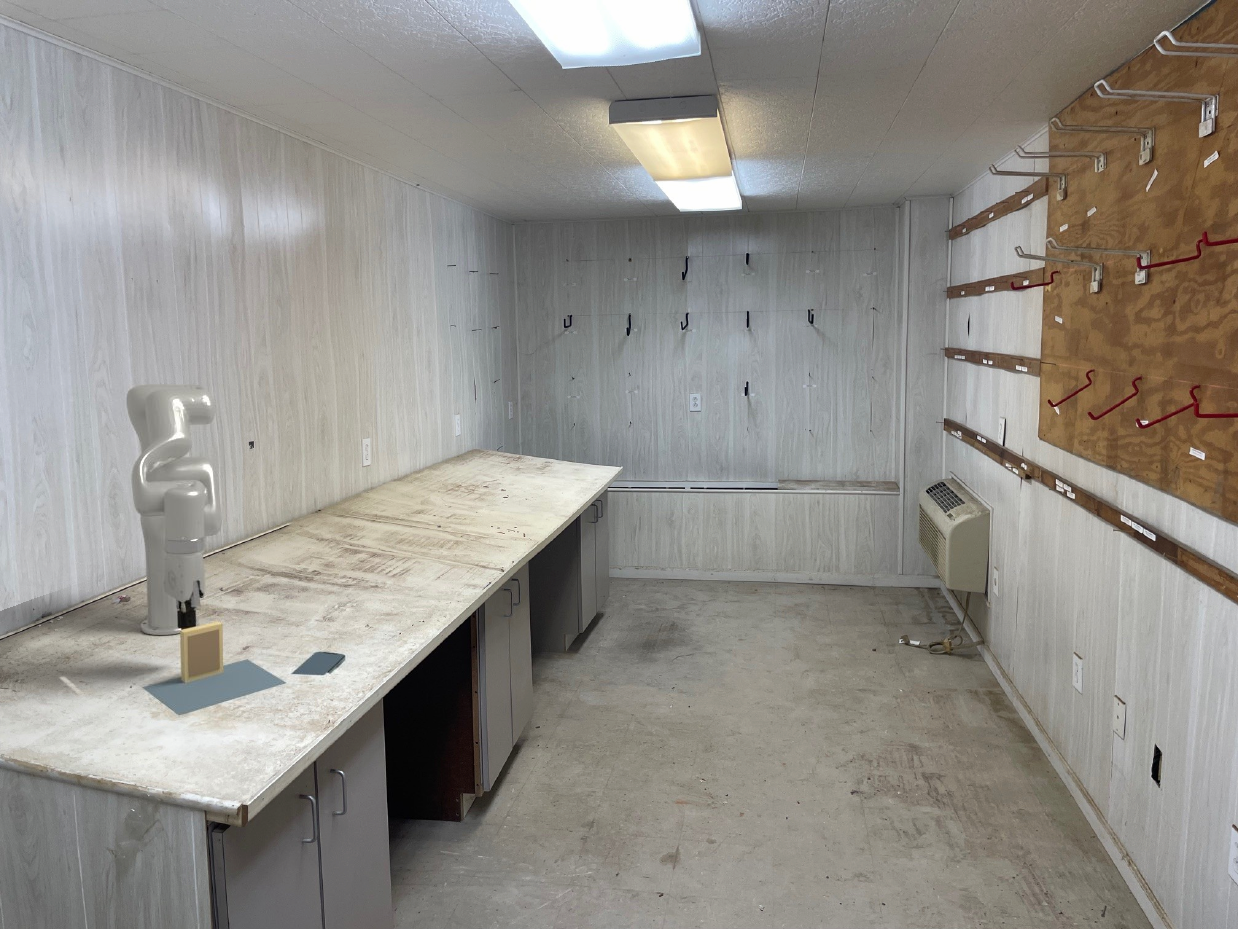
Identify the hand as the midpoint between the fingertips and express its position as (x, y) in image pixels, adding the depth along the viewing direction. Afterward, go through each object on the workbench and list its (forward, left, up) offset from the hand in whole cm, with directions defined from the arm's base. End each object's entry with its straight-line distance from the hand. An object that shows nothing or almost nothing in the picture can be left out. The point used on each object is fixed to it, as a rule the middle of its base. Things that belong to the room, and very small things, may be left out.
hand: (186, 627), depth 183 cm
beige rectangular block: (+7, 0, -9) cm, 11 cm away
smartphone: (+18, +20, -11) cm, 29 cm away
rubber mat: (+13, 0, -10) cm, 16 cm away
